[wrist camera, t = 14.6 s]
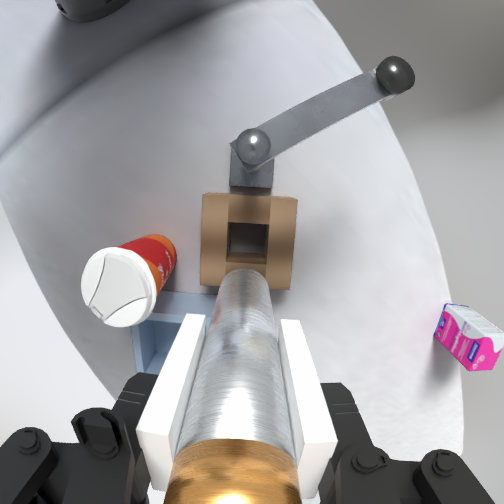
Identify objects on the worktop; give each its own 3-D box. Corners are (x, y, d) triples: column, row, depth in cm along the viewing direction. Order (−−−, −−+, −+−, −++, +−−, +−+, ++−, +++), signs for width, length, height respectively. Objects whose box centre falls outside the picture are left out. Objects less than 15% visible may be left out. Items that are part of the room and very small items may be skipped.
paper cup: (159, 295, 40) (121, 347, 26) (118, 255, 38) (63, 290, 25) (197, 254, 39) (170, 294, 25) (154, 212, 37) (105, 230, 24)
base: (232, 144, 35) (231, 143, 34) (274, 146, 36) (274, 145, 34) (230, 185, 37) (229, 185, 35) (271, 187, 37) (272, 187, 36)
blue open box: (147, 289, 40) (129, 309, 33) (221, 295, 40) (215, 318, 33) (152, 352, 42) (137, 379, 35) (219, 359, 42) (214, 389, 35)
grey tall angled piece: (250, 178, 35) (249, 174, 16) (239, 160, 34) (224, 136, 15) (341, 126, 33) (428, 80, 14) (330, 109, 33) (407, 47, 14)
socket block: (208, 192, 37) (202, 194, 32) (291, 197, 37) (297, 199, 32) (206, 272, 39) (200, 284, 34) (284, 276, 39) (289, 290, 34)
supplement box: (443, 302, 40) (486, 334, 29) (468, 305, 41) (510, 334, 29) (431, 335, 42) (468, 372, 31) (456, 337, 42) (493, 370, 31)
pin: (220, 266, 18) (145, 502, 4) (270, 269, 18) (321, 512, 4) (218, 312, 19) (168, 551, 4) (267, 315, 19) (293, 558, 4)
